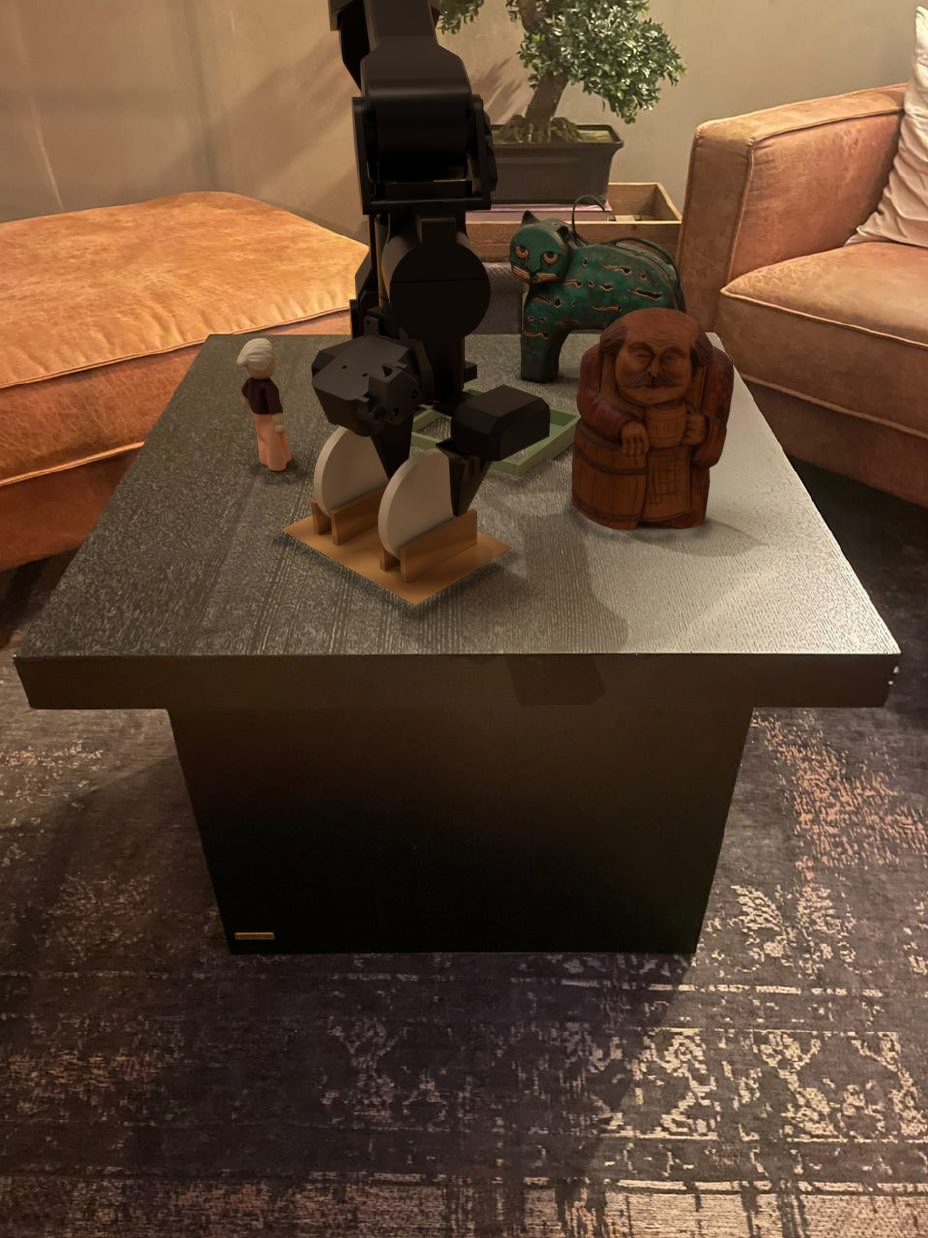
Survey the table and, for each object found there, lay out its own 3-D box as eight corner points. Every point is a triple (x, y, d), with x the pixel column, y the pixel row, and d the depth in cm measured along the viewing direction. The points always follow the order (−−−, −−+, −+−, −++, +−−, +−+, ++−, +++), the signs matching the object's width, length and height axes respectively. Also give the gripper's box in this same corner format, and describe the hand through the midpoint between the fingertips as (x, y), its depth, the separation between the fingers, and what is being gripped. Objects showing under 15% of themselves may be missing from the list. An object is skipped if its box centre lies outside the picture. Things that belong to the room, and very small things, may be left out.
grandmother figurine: (316, 476, 86) (301, 343, 79) (283, 490, 84) (265, 355, 76) (266, 451, 90) (247, 323, 83) (233, 464, 88) (211, 333, 81)
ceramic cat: (502, 378, 105) (506, 190, 94) (529, 361, 110) (536, 179, 98) (665, 416, 97) (693, 213, 85) (687, 395, 101) (716, 200, 90)
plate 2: (384, 579, 71) (371, 476, 65) (463, 529, 76) (458, 430, 70) (393, 584, 70) (381, 481, 65) (472, 533, 75) (468, 434, 70)
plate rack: (282, 539, 77) (276, 497, 75) (378, 493, 83) (376, 453, 81) (415, 615, 68) (413, 570, 66) (512, 557, 75) (513, 514, 72)
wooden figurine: (573, 539, 77) (589, 325, 66) (567, 502, 82) (582, 298, 71) (714, 540, 77) (754, 326, 66) (699, 503, 82) (734, 298, 71)
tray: (395, 448, 91) (394, 429, 90) (467, 403, 100) (467, 385, 98) (519, 486, 84) (519, 465, 83) (584, 434, 93) (586, 414, 92)
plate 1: (316, 537, 75) (309, 433, 70) (397, 502, 80) (395, 403, 75) (324, 541, 74) (318, 437, 69) (404, 506, 80) (404, 407, 75)
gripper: (237, 290, 61) (267, 497, 70) (437, 359, 51) (442, 591, 60) (362, 256, 68) (375, 450, 77) (561, 311, 57) (548, 527, 67)
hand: (428, 499), depth 70 cm, fingers open, 6 cm apart
